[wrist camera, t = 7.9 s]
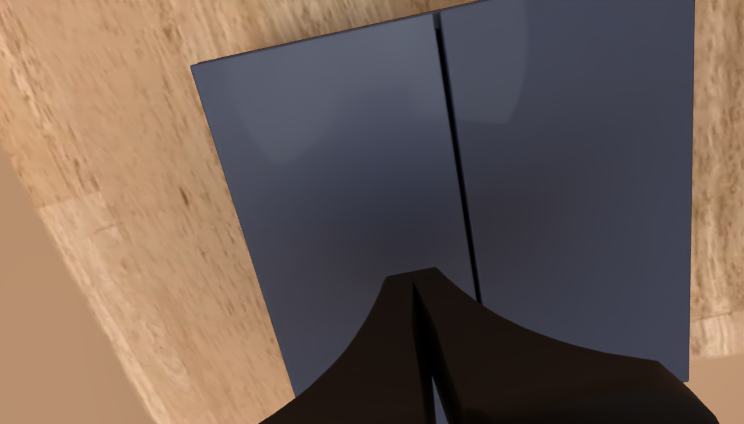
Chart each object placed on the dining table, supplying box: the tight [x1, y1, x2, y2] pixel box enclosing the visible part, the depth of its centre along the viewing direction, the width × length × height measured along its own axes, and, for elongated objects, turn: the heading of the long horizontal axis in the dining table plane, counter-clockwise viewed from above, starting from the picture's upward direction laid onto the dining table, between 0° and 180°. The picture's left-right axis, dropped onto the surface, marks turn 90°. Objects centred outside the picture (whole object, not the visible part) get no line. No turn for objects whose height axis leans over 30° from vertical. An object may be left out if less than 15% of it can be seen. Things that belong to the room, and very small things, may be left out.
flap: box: [190, 12, 477, 424], centre depth 14 cm, size 13×6×1 cm, turn 12°
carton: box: [197, 0, 695, 382], centre depth 17 cm, size 13×13×7 cm
